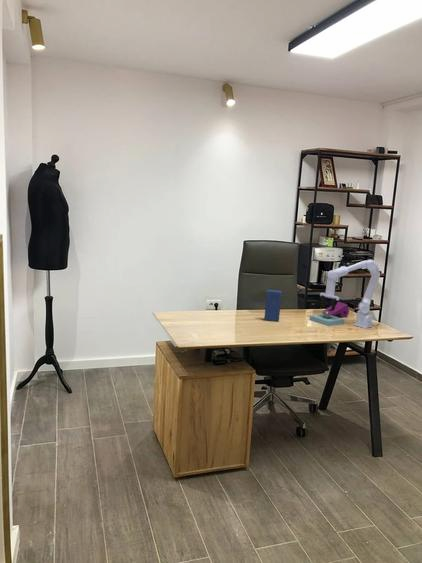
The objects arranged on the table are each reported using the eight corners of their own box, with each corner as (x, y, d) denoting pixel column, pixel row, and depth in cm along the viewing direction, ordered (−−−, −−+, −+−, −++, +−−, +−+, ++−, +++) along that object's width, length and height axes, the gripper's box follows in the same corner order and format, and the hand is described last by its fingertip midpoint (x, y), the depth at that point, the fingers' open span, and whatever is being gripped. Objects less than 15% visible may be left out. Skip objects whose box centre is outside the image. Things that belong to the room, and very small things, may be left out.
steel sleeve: (330, 322, 311) (332, 312, 310) (327, 323, 308) (328, 312, 307) (325, 320, 314) (326, 310, 313) (321, 321, 311) (322, 311, 310)
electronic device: (278, 320, 307) (281, 290, 304) (278, 321, 302) (281, 291, 299) (264, 318, 308) (266, 289, 304) (264, 320, 303) (267, 290, 299)
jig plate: (343, 323, 310) (344, 319, 309) (328, 326, 300) (328, 321, 300) (324, 317, 322) (325, 313, 322) (309, 320, 313) (310, 315, 312)
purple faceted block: (331, 326, 323) (349, 314, 329) (328, 316, 320) (347, 304, 326) (322, 323, 331) (340, 311, 338) (319, 313, 328) (338, 301, 335)
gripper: (318, 286, 311) (315, 306, 313) (335, 291, 299) (333, 311, 302) (324, 286, 315) (322, 305, 317) (342, 290, 304) (339, 310, 306)
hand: (328, 308), depth 310 cm, fingers open, 7 cm apart
